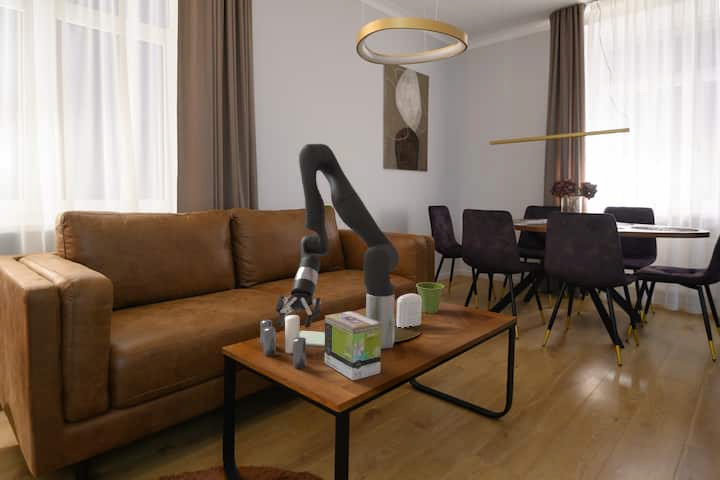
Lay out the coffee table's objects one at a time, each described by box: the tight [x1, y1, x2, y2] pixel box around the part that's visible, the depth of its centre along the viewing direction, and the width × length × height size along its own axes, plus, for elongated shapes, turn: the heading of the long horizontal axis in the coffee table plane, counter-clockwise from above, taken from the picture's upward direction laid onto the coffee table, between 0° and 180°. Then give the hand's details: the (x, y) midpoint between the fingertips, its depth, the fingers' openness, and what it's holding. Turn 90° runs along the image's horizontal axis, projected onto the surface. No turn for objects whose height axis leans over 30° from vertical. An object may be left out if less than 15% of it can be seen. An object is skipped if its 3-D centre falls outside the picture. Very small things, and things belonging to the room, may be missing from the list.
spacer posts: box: [260, 319, 307, 370], centre depth 133 cm, size 28×18×8 cm, turn 79°
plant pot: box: [415, 282, 445, 314], centre depth 184 cm, size 12×12×11 cm
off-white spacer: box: [284, 314, 301, 355], centre depth 137 cm, size 4×4×11 cm
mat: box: [300, 330, 325, 347], centre depth 149 cm, size 12×12×1 cm
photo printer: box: [395, 293, 422, 329], centre depth 164 cm, size 10×4×12 cm, turn 123°
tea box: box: [324, 310, 382, 381], centre depth 124 cm, size 15×10×15 cm, turn 35°
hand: (293, 326), depth 138 cm, fingers open, 8 cm apart
